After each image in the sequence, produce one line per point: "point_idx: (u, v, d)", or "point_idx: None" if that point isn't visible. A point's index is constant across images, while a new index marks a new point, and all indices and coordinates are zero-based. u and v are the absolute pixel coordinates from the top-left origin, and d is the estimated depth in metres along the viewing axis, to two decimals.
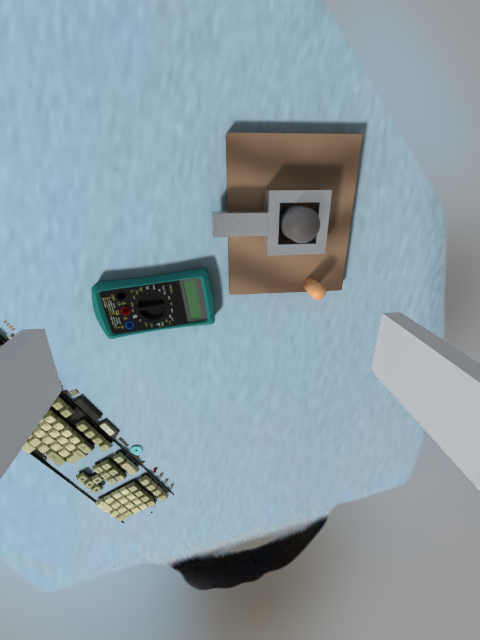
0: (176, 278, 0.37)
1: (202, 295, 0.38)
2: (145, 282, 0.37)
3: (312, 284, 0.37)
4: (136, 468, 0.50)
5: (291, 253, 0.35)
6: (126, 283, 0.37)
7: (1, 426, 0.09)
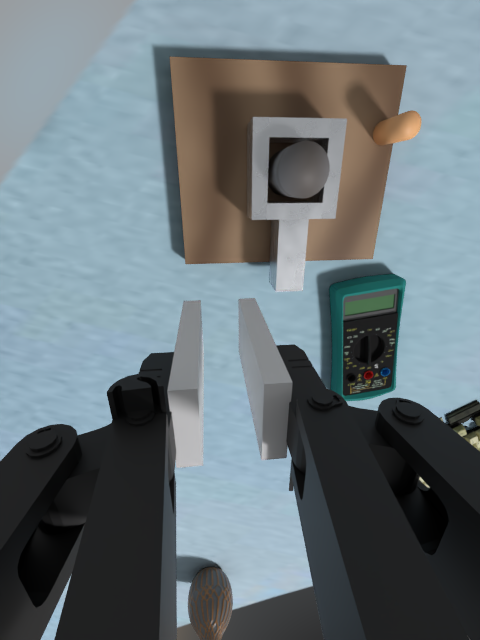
0: (340, 324, 0.31)
1: (365, 294, 0.31)
2: (339, 354, 0.33)
3: (389, 135, 0.23)
4: None
5: (337, 180, 0.23)
6: (337, 371, 0.34)
7: (201, 368, 0.11)
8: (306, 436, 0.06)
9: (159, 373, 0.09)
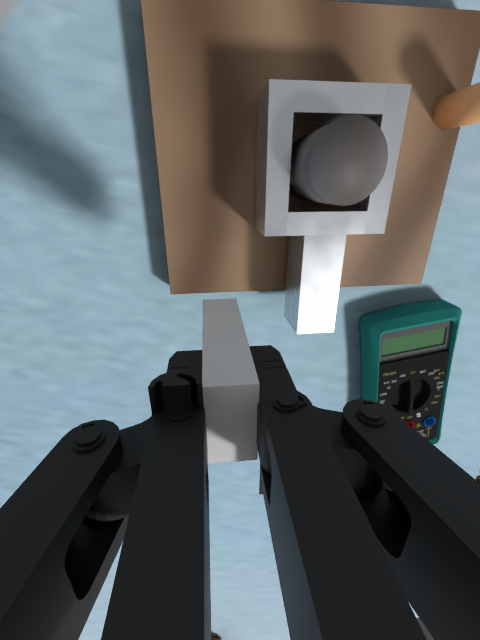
0: (375, 367, 0.24)
1: (409, 328, 0.23)
2: None
3: (467, 112, 0.16)
4: None
5: (391, 178, 0.16)
6: None
7: None
8: (270, 440, 0.06)
9: (187, 371, 0.10)
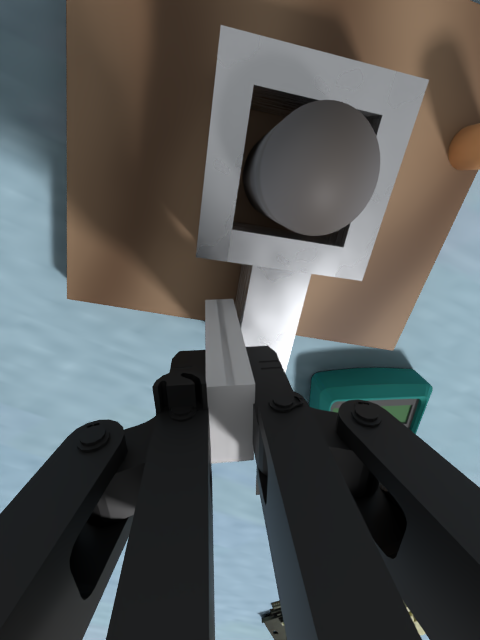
0: None
1: (368, 400, 0.19)
2: None
3: None
4: None
5: (381, 208, 0.11)
6: None
7: None
8: (266, 440, 0.06)
9: (190, 370, 0.10)
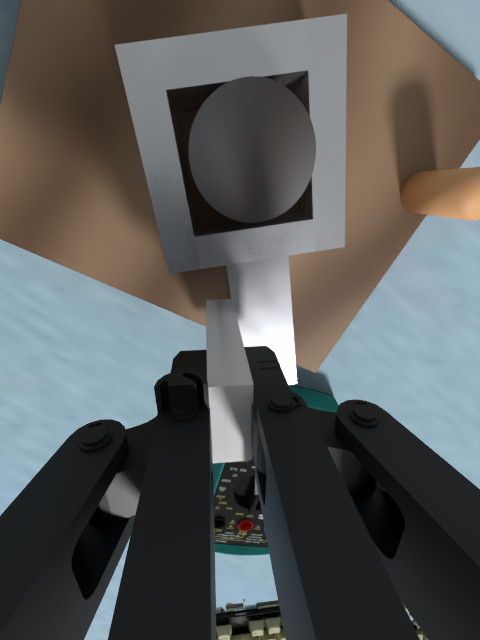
0: None
1: None
2: None
3: (436, 196, 0.12)
4: None
5: (340, 166, 0.10)
6: None
7: None
8: (265, 441, 0.06)
9: (191, 370, 0.10)
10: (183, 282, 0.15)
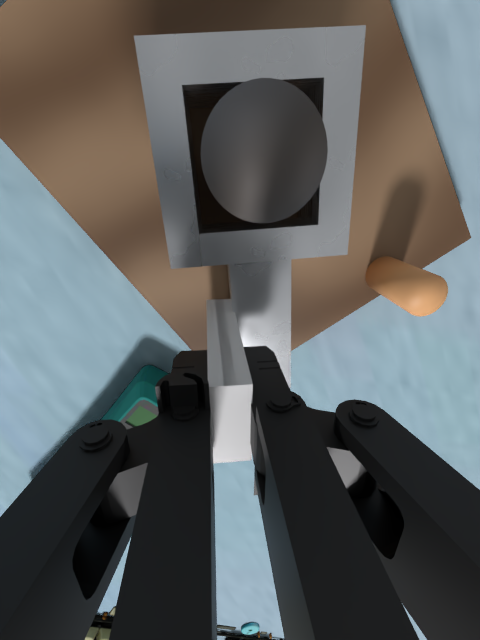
0: None
1: None
2: None
3: (393, 281, 0.13)
4: None
5: (349, 174, 0.11)
6: None
7: None
8: (264, 441, 0.06)
9: (192, 370, 0.10)
10: (144, 245, 0.14)
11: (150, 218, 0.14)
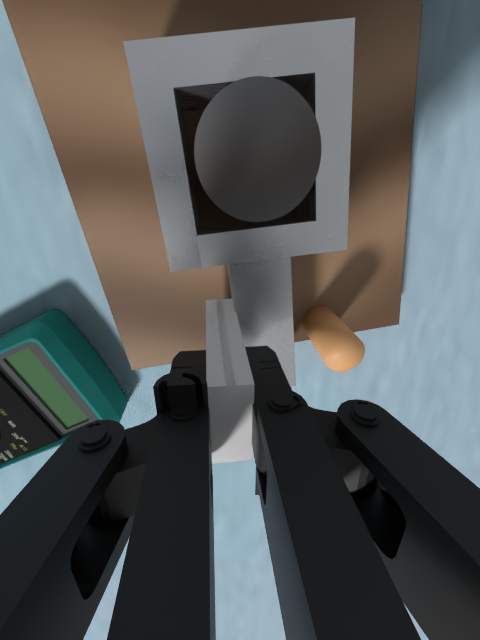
0: None
1: (64, 375, 0.16)
2: None
3: (324, 330, 0.14)
4: None
5: (345, 168, 0.10)
6: None
7: None
8: (266, 441, 0.06)
9: (190, 370, 0.10)
10: (109, 187, 0.13)
11: (128, 163, 0.13)
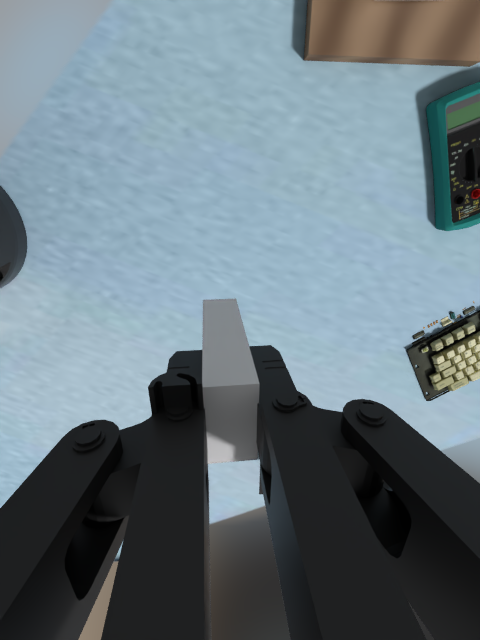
0: (444, 139, 0.33)
1: (466, 100, 0.32)
2: (446, 175, 0.34)
3: None
4: None
5: None
6: (444, 196, 0.35)
7: None
8: (270, 440, 0.06)
9: (187, 371, 0.10)
10: (400, 35, 0.29)
11: (395, 20, 0.29)
